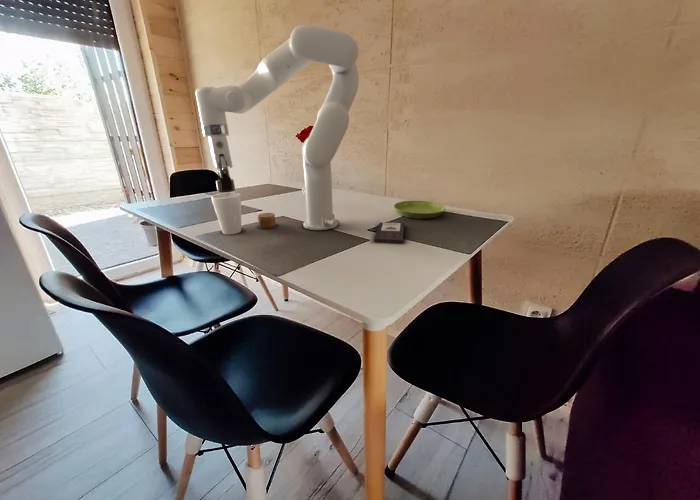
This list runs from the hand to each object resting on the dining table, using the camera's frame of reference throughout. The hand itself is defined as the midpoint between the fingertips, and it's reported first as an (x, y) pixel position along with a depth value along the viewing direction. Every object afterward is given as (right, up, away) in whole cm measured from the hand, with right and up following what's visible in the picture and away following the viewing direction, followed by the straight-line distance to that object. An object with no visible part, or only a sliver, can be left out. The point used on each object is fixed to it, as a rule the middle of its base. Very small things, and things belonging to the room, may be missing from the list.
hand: (226, 187), depth 105 cm
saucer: (+71, -6, +24) cm, 75 cm away
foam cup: (0, -15, +6) cm, 16 cm away
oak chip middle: (+11, -10, +10) cm, 18 cm away
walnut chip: (0, -1, 0) cm, 1 cm away
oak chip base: (+11, -12, +11) cm, 20 cm away
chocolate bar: (+56, -16, +1) cm, 58 cm away
